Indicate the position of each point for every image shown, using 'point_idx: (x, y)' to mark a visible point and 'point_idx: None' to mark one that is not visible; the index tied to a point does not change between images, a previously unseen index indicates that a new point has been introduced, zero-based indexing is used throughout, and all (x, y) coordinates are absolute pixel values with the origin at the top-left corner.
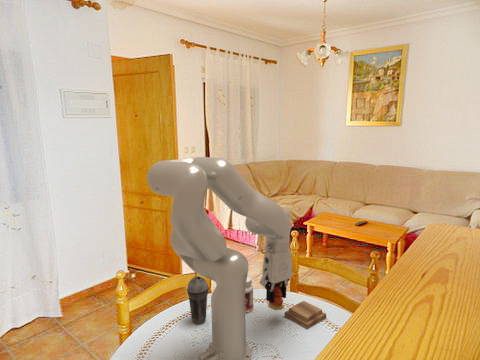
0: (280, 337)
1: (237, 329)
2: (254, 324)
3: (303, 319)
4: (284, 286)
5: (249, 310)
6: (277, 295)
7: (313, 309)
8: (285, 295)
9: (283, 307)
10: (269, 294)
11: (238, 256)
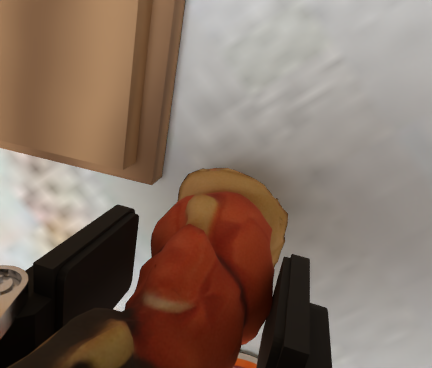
0: (383, 73)
1: None
2: (345, 276)
3: (147, 21)
4: (43, 289)
5: (251, 360)
6: (225, 274)
7: (8, 10)
8: (113, 216)
9: (203, 173)
10: (327, 362)
11: None
